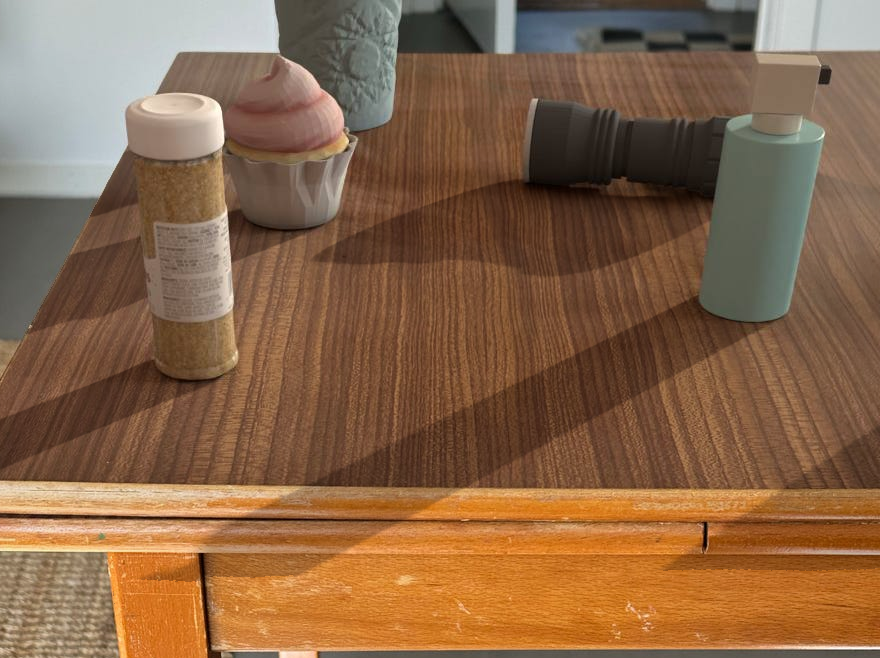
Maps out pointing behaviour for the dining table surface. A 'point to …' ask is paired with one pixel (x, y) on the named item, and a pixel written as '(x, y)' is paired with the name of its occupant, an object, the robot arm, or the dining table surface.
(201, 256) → the sprinkles bottle
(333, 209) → the cupcake
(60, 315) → the dining table surface
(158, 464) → the dining table surface
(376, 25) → the embossed vase
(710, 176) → the flashlight
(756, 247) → the spray bottle
